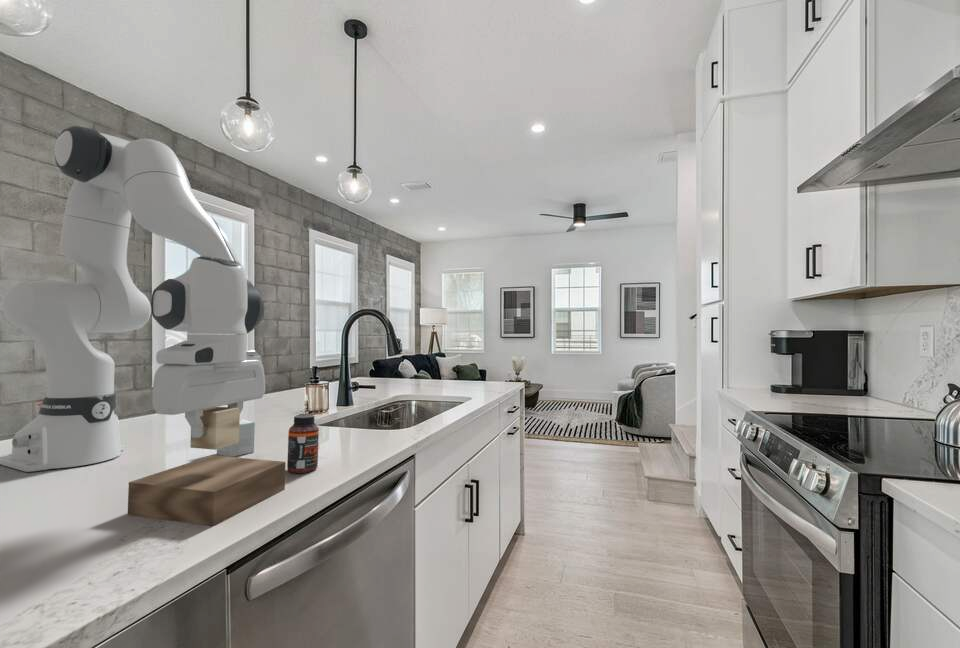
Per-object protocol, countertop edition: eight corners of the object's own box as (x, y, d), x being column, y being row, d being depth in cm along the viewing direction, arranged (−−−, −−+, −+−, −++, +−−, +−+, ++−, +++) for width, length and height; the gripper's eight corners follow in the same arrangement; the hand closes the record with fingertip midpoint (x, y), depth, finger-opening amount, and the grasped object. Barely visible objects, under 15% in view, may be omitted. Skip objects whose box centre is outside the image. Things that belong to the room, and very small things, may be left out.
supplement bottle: (307, 475, 88) (308, 419, 89) (280, 473, 90) (282, 417, 90) (323, 466, 94) (324, 413, 95) (298, 464, 95) (299, 412, 96)
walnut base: (127, 514, 68) (128, 482, 68) (211, 481, 84) (212, 455, 84) (213, 526, 65) (214, 491, 65) (284, 489, 80) (285, 461, 80)
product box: (254, 452, 105) (255, 421, 105) (227, 458, 100) (228, 426, 100) (242, 448, 108) (243, 418, 108) (215, 453, 103) (216, 422, 103)
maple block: (190, 447, 73) (191, 411, 73) (214, 440, 77) (215, 406, 78) (215, 449, 72) (216, 412, 72) (239, 442, 76) (239, 407, 77)
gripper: (246, 349, 86) (245, 420, 85) (145, 353, 66) (142, 445, 65) (274, 349, 84) (273, 422, 84) (180, 353, 64) (177, 448, 64)
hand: (215, 432), depth 75 cm, fingers closed on maple block, 5 cm apart
